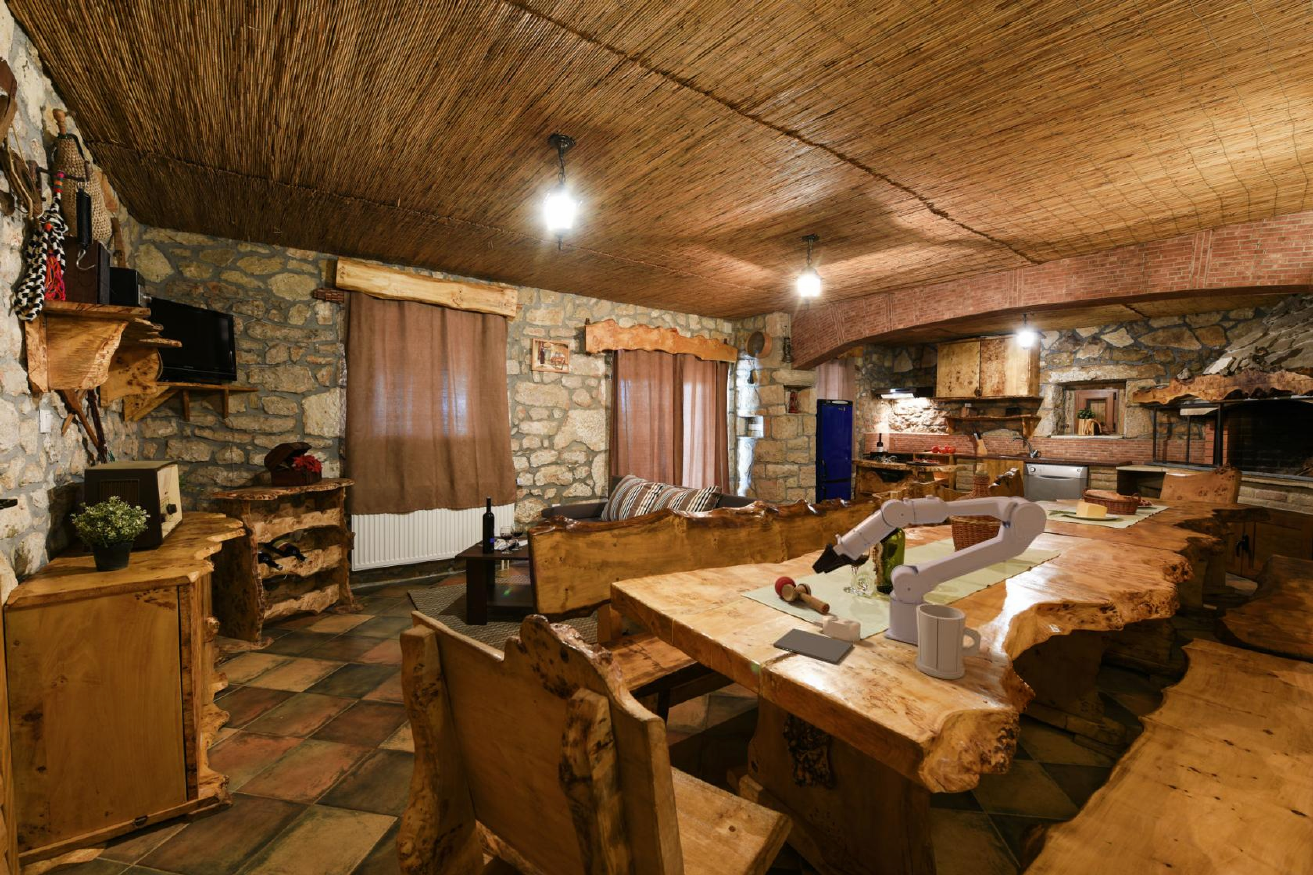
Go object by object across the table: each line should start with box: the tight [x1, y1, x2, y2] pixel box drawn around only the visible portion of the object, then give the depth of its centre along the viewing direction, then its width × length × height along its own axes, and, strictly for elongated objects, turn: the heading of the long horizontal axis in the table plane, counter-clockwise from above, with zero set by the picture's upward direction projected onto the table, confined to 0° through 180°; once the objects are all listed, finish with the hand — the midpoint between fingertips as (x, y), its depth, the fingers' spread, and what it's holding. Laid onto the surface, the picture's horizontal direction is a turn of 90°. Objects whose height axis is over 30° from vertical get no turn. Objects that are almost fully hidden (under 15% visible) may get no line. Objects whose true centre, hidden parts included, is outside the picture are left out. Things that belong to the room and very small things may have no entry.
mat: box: [772, 627, 854, 665], centre depth 118 cm, size 14×11×1 cm
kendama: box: [774, 575, 831, 615], centre depth 146 cm, size 8×6×18 cm
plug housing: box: [812, 615, 861, 643], centre depth 125 cm, size 11×4×4 cm, turn 52°
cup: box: [914, 603, 982, 680], centre depth 107 cm, size 10×9×12 cm
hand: (818, 570), depth 130 cm, fingers open, 7 cm apart
